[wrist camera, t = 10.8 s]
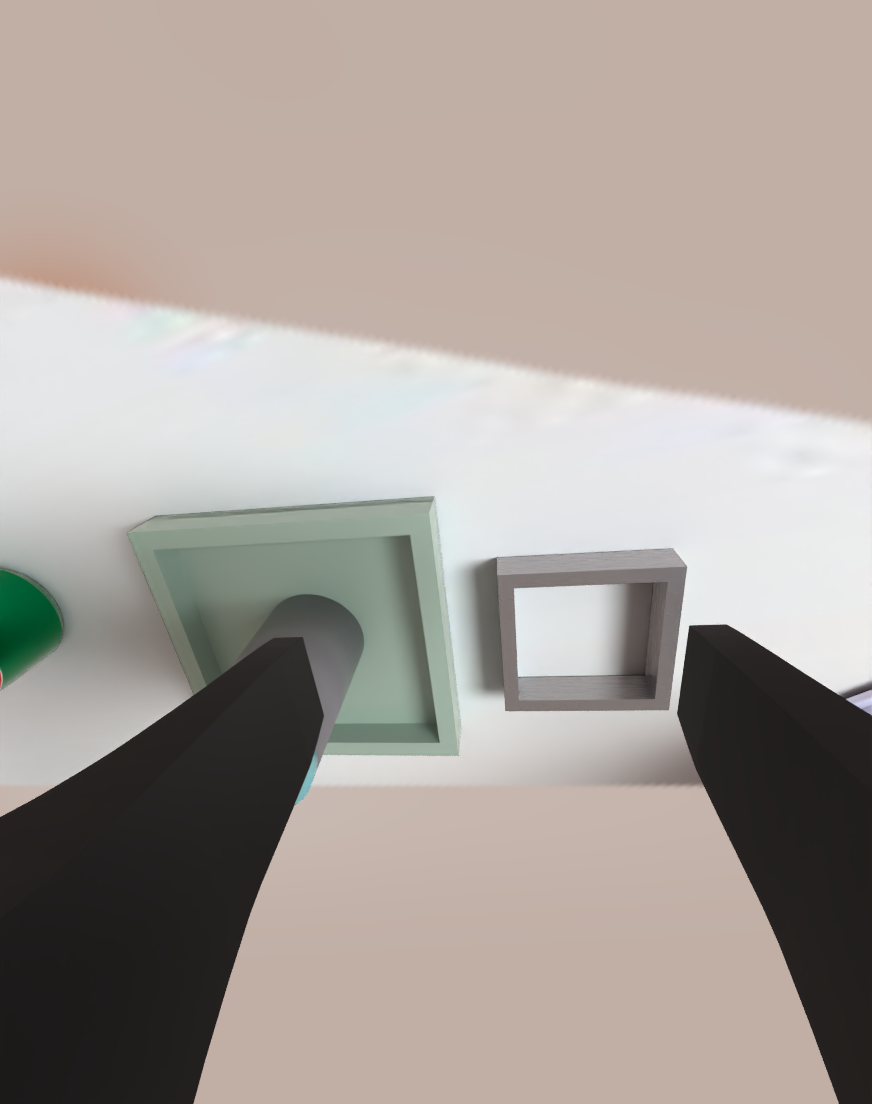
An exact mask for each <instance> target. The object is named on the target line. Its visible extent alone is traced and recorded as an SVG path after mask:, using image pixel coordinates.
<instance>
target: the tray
mask: <svg viewBox="0 0 872 1104" xmlns="http://www.w3.org/2000/svg"><path fill="white" fill-rule="evenodd" d="M127 534H128V537H129V539H130V541H131V544H132V546H133V549H134V551H135V553H136V556H137V558H138V561H139V563H140V566H141V568H142V570H143V573H144V575H145V578H146V580H147V582H148V585H149V587H150V590H151V592H152V595H153V597H154V599H155V602H156V604H157V607H158V609H159V611H160V614H161V616H162V619H163V621H164V624H165V626H166V628H167V631H168V633H169V636H170V638H171V640H172V643H173V645H174V648H175V650H176V653H177V655H178V657H179V660H180V662H181V665H182V667H183V669H184V672H185V674H186V677H187V679H188V682H189V684H190V686H191V689H192V691H193V694H194V695H195V694H196V693H197V692H199V691H200V690H202V689H203V688H204V687H206V686H207V685H208V684H210V683H211V682H212V681H214V680H215V679H217V678H218V677H219V676H221V675H222V674H223V673H225V672H226V671H227V670H229V668H230V667H231V666H232V664H233V663H234V662H235V660H236V659H237V658H238V656H239V655H240V654H241V653H242V651H243V650H244V649H245V647H246V646H247V645H248V643H249V642H250V641H251V639H252V638H253V637H254V635H255V634H256V633H257V631H258V630H259V629H260V627H261V626H262V625H263V623H264V622H265V621H266V619H267V618H268V617H269V615H270V614H271V613H272V611H273V610H274V609H275V608H276V606H277V605H278V604H280V603H281V602H282V601H284V600H285V599H287V598H290V597H292V596H296V595H302V594H313V595H320V596H324V597H327V598H330V599H332V600H334V601H336V602H338V603H339V604H341V605H343V606H344V607H345V608H346V609H348V610H349V611H350V612H351V613H352V614H353V615H354V617H355V618H356V619H357V621H358V622H359V624H360V626H361V629H362V632H363V635H364V649H363V652H362V655H361V658H360V660H359V663H358V665H357V668H356V670H355V673H354V676H353V678H352V681H351V683H350V686H349V688H348V691H347V694H346V696H345V699H344V701H343V704H342V706H341V709H340V712H339V714H338V717H337V719H336V722H335V724H334V727H333V730H332V732H331V735H330V737H329V740H328V742H327V745H326V748H325V750H324V753H323V755H427V756H459V746H460V733H461V722H460V713H459V705H458V696H457V687H456V679H455V670H454V661H453V653H452V644H451V635H450V627H449V618H448V609H447V600H446V592H445V583H444V574H443V566H442V557H441V548H440V540H439V531H438V522H437V514H436V505H435V497H420V498H406V499H392V500H377V501H363V502H349V503H334V504H320V505H306V506H291V507H277V508H263V509H248V510H234V511H220V512H205V513H191V514H177V515H162V516H155V517H153V518H151V519H150V520H148V521H146V522H144V523H143V524H141V525H139V526H138V527H136V528H134V529H132V530H131V531H129V532H127Z"/></svg>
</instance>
